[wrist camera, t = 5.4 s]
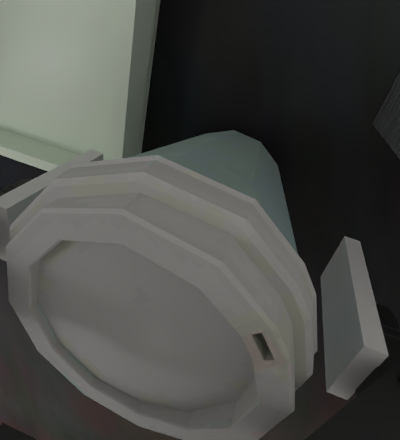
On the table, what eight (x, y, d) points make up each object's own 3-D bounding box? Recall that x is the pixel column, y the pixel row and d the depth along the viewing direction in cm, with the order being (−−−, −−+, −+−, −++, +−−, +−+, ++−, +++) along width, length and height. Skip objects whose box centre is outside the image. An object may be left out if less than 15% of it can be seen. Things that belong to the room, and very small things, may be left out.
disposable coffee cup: (194, 252, 26) (91, 458, 13) (127, 128, 22) (-104, 250, 9) (331, 219, 21) (370, 484, 9) (277, 54, 17) (209, 104, 5)
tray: (-38, 119, 26) (-75, 128, 23) (-93, -162, 17) (-160, -195, 15) (138, 179, 24) (118, 196, 21) (172, -102, 15) (147, -129, 13)
